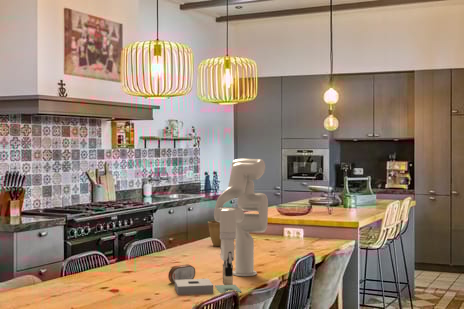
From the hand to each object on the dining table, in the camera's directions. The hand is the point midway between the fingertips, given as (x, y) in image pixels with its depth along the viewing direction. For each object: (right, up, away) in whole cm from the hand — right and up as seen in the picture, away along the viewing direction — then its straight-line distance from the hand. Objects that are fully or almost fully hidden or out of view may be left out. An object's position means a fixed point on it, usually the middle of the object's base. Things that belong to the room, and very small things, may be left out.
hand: (227, 274), depth 283 cm
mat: (0, -7, 0) cm, 7 cm away
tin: (-22, -7, +15) cm, 28 cm away
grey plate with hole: (-16, -7, -3) cm, 17 cm away
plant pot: (-7, -5, +126) cm, 127 cm away
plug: (0, -4, 0) cm, 4 cm away
